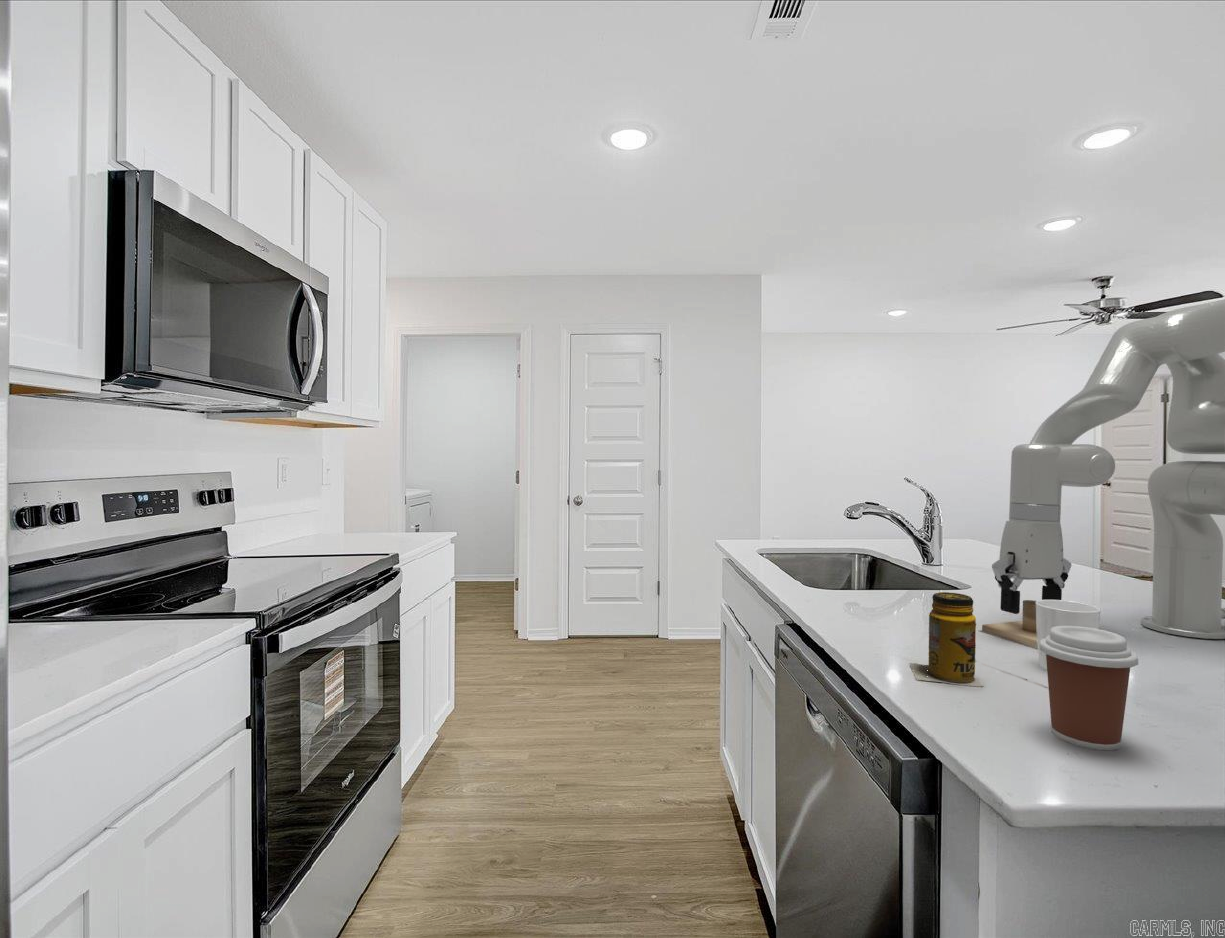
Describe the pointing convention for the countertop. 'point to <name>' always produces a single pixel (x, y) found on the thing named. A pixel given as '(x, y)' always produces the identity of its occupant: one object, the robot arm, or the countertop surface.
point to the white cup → (1062, 619)
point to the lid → (1018, 627)
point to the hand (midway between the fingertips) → (1030, 610)
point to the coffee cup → (1087, 685)
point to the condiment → (950, 641)
